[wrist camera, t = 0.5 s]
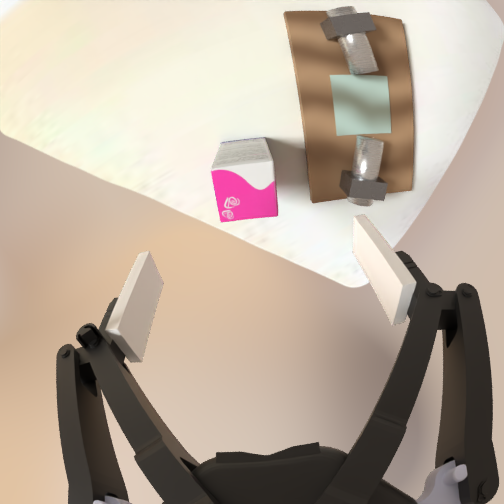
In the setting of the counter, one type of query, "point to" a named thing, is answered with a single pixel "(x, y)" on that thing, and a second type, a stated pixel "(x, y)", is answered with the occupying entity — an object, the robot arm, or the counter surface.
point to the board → (352, 103)
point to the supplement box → (244, 180)
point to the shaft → (365, 173)
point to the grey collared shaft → (352, 37)
